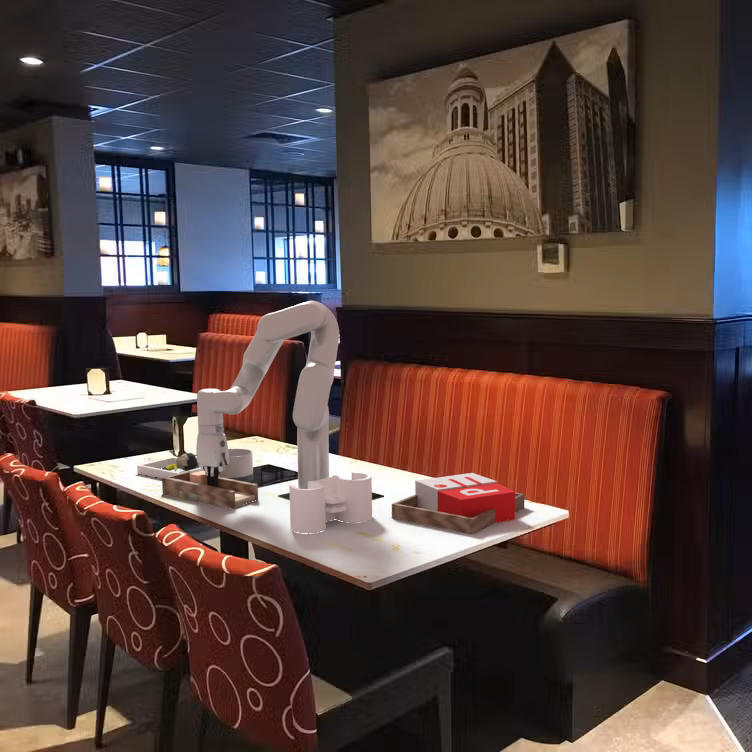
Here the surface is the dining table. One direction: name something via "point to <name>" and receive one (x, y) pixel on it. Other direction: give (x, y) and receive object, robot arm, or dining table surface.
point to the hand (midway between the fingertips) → (213, 487)
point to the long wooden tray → (211, 490)
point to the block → (198, 477)
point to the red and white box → (466, 496)
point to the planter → (239, 465)
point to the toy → (183, 463)
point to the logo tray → (447, 516)
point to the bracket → (331, 502)
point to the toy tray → (156, 466)
